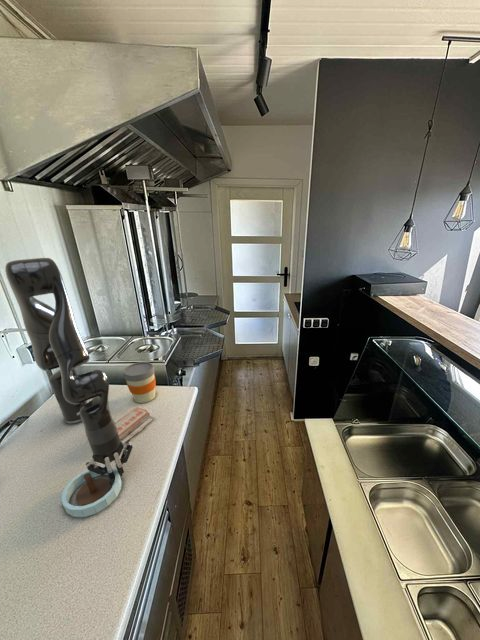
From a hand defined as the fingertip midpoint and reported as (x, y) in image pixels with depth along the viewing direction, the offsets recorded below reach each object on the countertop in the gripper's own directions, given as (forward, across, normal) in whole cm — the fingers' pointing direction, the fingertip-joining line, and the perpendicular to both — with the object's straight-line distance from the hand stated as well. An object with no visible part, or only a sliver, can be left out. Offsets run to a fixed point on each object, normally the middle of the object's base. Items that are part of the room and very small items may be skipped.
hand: (117, 476), depth 90 cm
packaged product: (+2, -11, -21) cm, 24 cm away
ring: (+1, +7, 0) cm, 7 cm away
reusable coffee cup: (+2, -25, -38) cm, 46 cm away
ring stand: (+1, +7, 0) cm, 7 cm away
